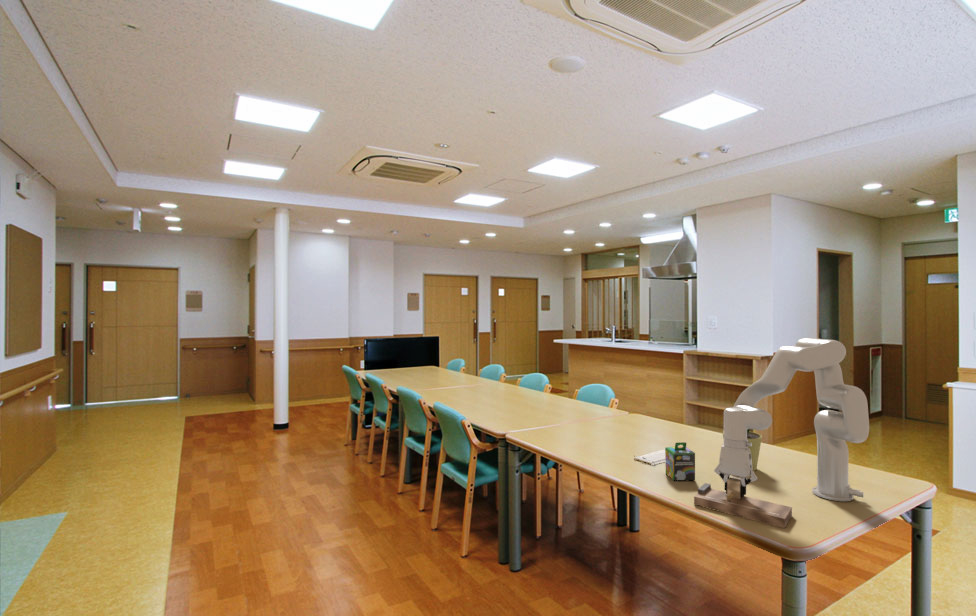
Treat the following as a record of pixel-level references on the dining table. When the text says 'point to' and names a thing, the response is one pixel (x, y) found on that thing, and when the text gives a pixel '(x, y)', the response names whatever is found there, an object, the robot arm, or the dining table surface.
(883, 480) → the dining table surface
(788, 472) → the dining table surface
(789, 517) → the walnut board
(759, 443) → the potted cactus
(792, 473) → the dining table surface
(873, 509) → the dining table surface
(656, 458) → the baseboard molding
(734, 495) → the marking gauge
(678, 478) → the chalk box
